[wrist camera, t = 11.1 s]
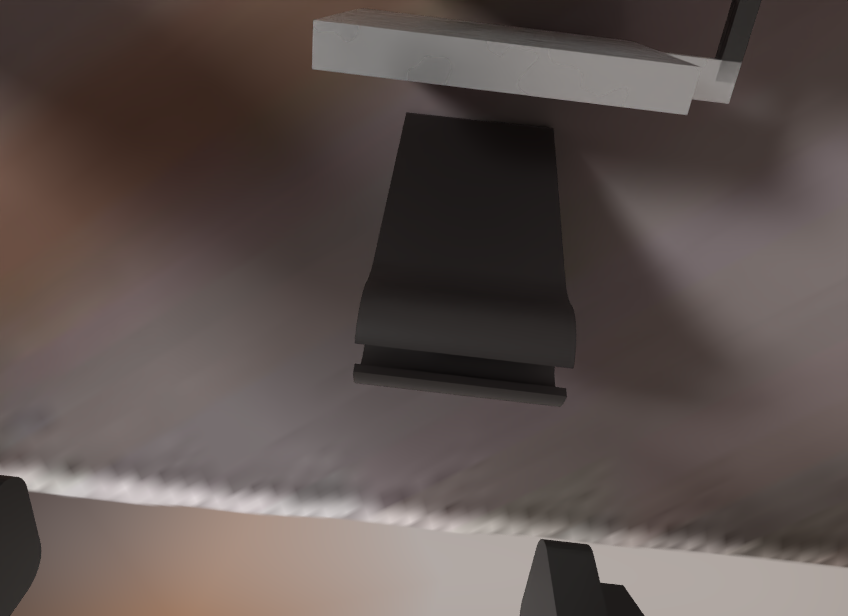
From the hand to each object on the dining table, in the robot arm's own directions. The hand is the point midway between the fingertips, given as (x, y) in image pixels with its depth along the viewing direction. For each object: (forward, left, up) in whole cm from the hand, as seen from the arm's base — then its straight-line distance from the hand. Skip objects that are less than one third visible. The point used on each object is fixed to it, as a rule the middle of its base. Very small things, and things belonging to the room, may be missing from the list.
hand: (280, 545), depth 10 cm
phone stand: (+3, -1, -20) cm, 20 cm away
